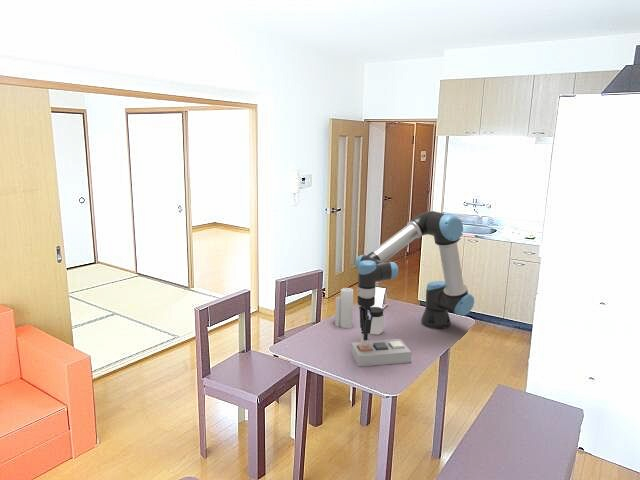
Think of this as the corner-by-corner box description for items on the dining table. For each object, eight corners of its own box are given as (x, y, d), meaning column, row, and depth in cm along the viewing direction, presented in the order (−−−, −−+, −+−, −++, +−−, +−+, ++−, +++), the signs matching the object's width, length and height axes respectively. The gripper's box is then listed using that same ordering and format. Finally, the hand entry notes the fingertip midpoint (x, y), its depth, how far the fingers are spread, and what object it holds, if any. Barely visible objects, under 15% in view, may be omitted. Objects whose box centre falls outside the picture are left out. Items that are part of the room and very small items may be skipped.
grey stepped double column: (355, 325, 250) (356, 289, 246) (346, 329, 245) (347, 292, 241) (338, 320, 258) (339, 285, 253) (330, 323, 252) (330, 288, 248)
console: (399, 348, 224) (400, 338, 223) (410, 362, 210) (411, 351, 209) (350, 352, 219) (350, 342, 218) (358, 366, 206) (359, 356, 205)
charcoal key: (383, 348, 217) (384, 342, 216) (387, 353, 212) (387, 346, 212) (373, 349, 216) (373, 343, 215) (376, 354, 211) (377, 347, 211)
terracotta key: (368, 349, 216) (368, 343, 215) (371, 354, 211) (371, 348, 210) (357, 350, 215) (357, 344, 214) (360, 355, 210) (360, 349, 209)
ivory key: (399, 347, 218) (399, 341, 218) (403, 351, 214) (403, 345, 213) (389, 347, 217) (389, 341, 217) (392, 352, 213) (393, 346, 212)
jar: (363, 329, 245) (364, 307, 243) (377, 327, 249) (377, 305, 246) (371, 336, 237) (372, 313, 235) (385, 333, 241) (386, 311, 238)
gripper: (354, 291, 212) (352, 340, 217) (362, 301, 200) (360, 352, 205) (370, 290, 214) (368, 339, 219) (379, 300, 201) (377, 351, 206)
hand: (364, 345), depth 212 cm, fingers closed
